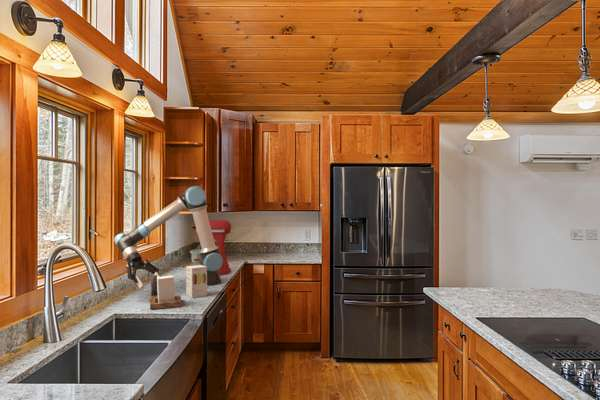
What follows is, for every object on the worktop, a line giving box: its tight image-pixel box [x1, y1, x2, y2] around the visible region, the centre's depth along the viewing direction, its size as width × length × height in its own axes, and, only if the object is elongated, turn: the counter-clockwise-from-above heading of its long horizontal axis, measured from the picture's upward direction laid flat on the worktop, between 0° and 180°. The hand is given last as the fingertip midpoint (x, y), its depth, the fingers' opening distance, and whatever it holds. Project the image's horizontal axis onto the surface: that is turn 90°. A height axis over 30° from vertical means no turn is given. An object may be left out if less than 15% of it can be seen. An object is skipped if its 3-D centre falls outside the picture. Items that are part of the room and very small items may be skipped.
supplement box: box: [185, 265, 208, 299], centre depth 229 cm, size 10×9×17 cm
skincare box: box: [157, 274, 176, 303], centre depth 209 cm, size 8×6×15 cm
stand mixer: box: [189, 219, 232, 276], centre depth 299 cm, size 24×32×40 cm
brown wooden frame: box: [149, 274, 182, 310], centre depth 214 cm, size 16×25×13 cm, turn 18°
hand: (151, 284), depth 222 cm, fingers open, 13 cm apart
